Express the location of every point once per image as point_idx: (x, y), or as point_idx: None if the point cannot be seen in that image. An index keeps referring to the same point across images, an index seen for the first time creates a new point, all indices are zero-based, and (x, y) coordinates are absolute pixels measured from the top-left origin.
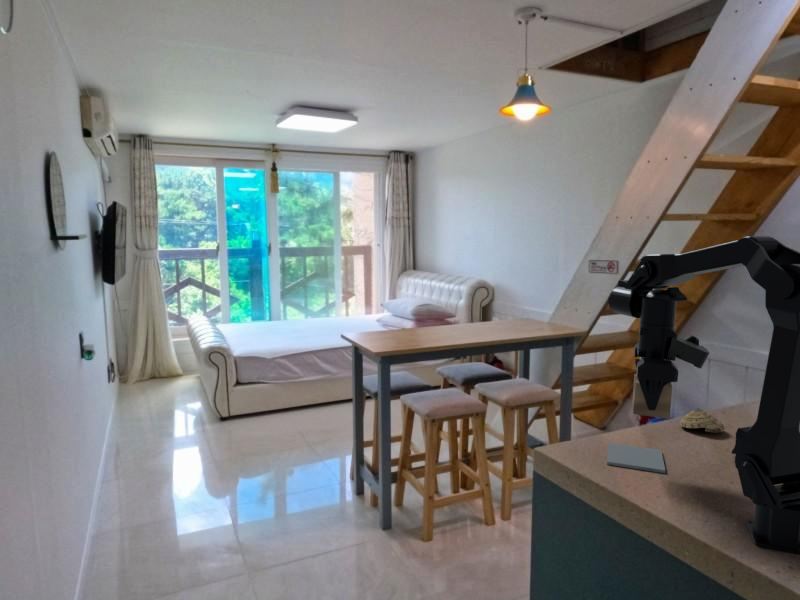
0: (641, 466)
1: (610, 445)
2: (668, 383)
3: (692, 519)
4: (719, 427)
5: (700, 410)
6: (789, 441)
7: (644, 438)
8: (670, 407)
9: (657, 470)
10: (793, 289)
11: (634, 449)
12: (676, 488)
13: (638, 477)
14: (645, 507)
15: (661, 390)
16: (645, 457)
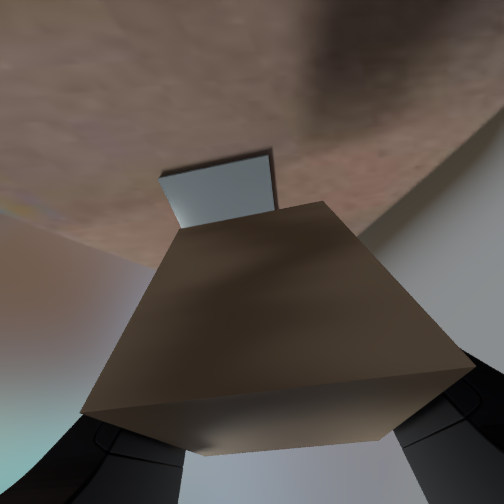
0: (272, 200)
1: None
2: (334, 392)
3: (486, 66)
4: None
5: None
6: None
7: (108, 216)
8: (346, 227)
9: (269, 170)
10: None
11: (196, 223)
12: (335, 120)
13: (308, 196)
14: (430, 167)
15: (489, 368)
16: (222, 200)
